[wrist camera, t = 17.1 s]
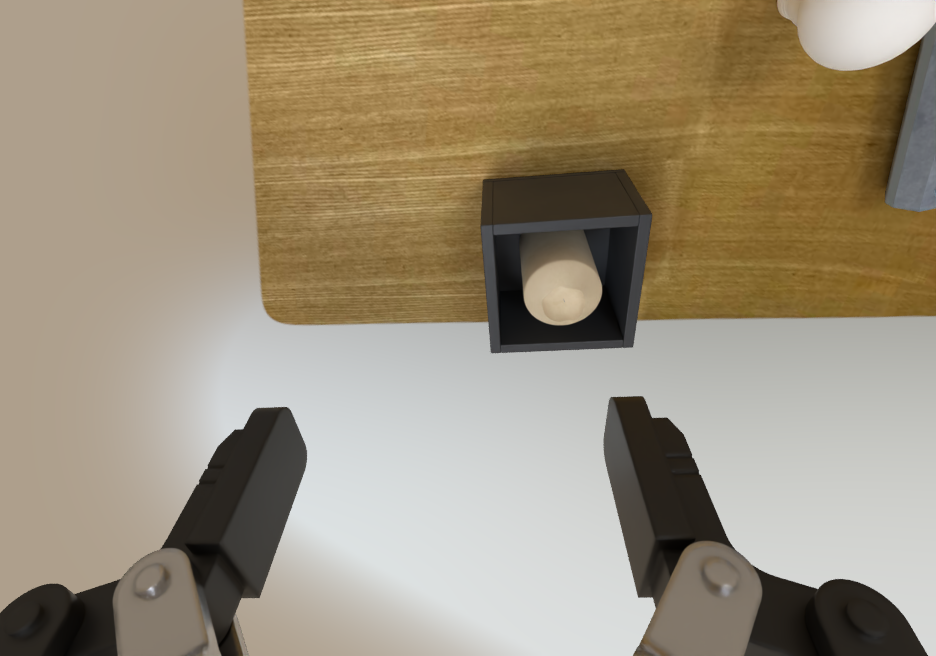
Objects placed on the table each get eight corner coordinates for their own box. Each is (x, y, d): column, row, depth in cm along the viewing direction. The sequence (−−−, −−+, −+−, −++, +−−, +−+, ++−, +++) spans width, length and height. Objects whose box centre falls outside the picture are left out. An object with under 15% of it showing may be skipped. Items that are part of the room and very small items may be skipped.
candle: (557, 195, 39) (573, 255, 31) (597, 241, 41) (622, 308, 33) (505, 238, 41) (508, 303, 33) (545, 279, 43) (557, 349, 35)
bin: (491, 294, 45) (490, 353, 39) (483, 179, 39) (480, 225, 32) (611, 288, 44) (633, 347, 38) (624, 168, 38) (652, 214, 31)
